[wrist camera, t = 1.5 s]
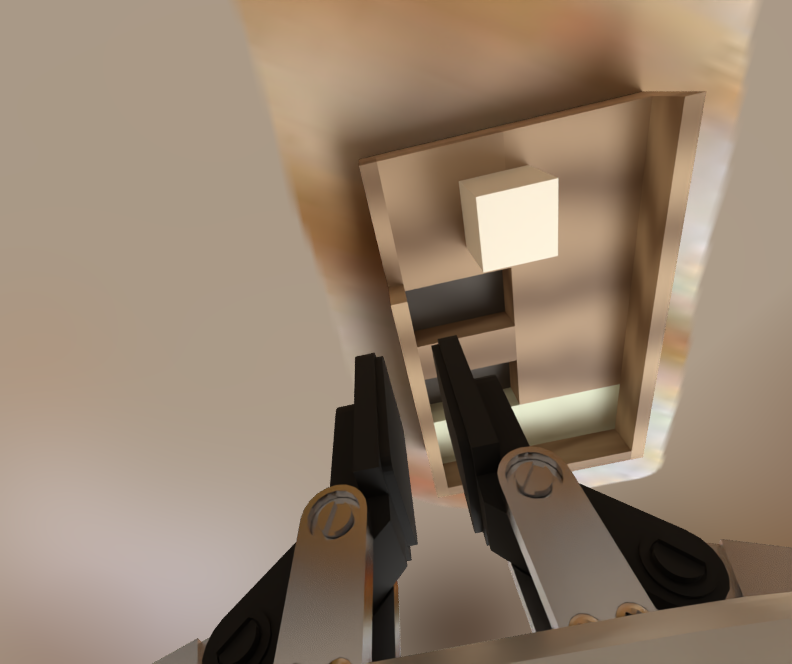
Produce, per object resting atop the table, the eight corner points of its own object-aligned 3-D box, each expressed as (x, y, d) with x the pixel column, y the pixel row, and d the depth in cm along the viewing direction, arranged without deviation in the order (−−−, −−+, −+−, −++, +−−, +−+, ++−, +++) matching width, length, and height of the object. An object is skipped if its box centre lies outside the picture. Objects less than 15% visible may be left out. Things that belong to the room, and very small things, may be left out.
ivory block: (458, 181, 23) (475, 197, 19) (528, 164, 22) (558, 178, 19) (466, 247, 25) (483, 272, 21) (530, 232, 25) (557, 255, 21)
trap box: (359, 159, 24) (358, 174, 20) (642, 91, 23) (706, 91, 19) (429, 451, 37) (437, 497, 33) (610, 414, 37) (642, 456, 32)
